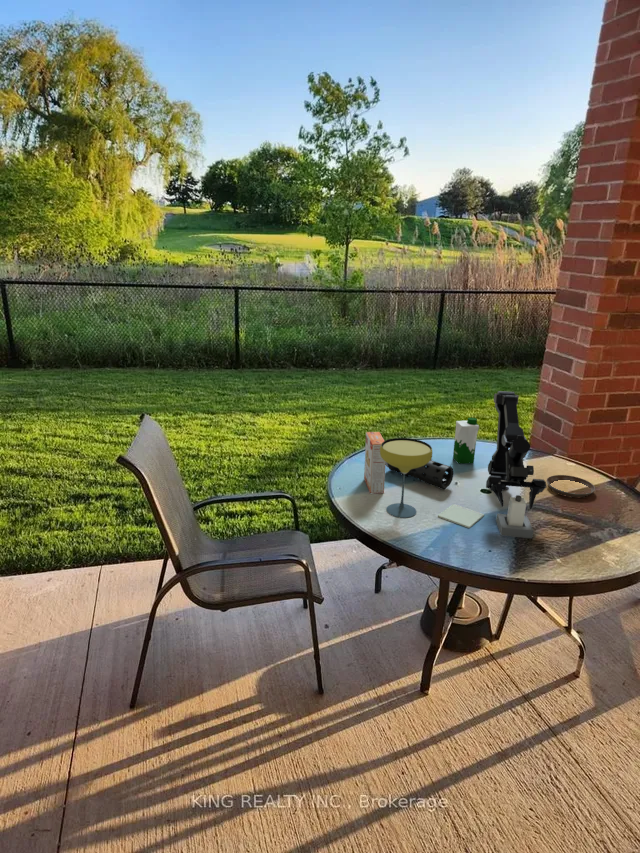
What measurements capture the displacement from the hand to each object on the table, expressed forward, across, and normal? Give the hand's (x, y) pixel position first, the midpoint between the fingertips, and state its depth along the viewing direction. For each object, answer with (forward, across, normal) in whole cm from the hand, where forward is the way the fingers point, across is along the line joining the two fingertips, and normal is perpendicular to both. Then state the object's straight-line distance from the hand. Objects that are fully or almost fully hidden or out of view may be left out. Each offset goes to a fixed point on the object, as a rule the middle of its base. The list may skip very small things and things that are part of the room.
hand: (516, 507), depth 176 cm
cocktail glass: (+2, -38, +10) cm, 39 cm away
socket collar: (+6, 0, +6) cm, 8 cm away
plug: (+6, 0, +6) cm, 8 cm away
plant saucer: (-20, +28, +32) cm, 47 cm away
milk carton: (-37, -11, +48) cm, 62 cm away
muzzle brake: (-19, -32, +31) cm, 48 cm away
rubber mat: (+2, -17, +10) cm, 20 cm away
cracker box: (-12, -49, +24) cm, 56 cm away
